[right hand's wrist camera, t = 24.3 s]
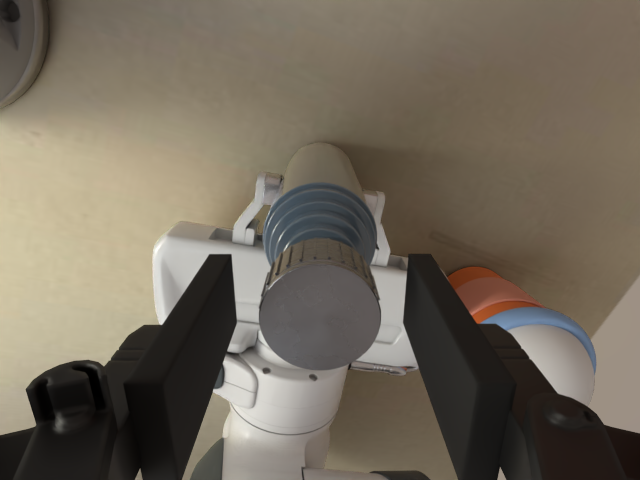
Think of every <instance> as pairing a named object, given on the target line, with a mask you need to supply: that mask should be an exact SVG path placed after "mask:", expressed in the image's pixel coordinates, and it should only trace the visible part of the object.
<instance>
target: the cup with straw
mask: <svg viewBox="0 0 640 480" xmlns="http://www.w3.org/2000/svg"><path fill="white" fill-rule="evenodd" d="M447 278H448V280H449V282H450V284H451V285H452V287H453V288H454V290H455V291H456V293H457V294H458V296H459V297H460V299H461V300H462V302H463V303H464V305H465V306H466V308H467V309H468V311H469V312H470V314H471V315H472V317H473V318H474V320H475V321H476V323H477V324H497V325H499V326H500V327H502V328H503V329H505V330H506V331H508V332H509V333H511V334H512V335H513V337H514V338H515V339H516V340H517V342H518V343H519V344H520V346H521V349H524V351H525V352H526V353H527V354H528V356H529V359H531V360H532V361H533V362H534V363H535V365H536V366H537V367H538V369H539V370H540V371H541V372H542V374H543V375H544V376H545V378H546V379H547V380H548V381H549V383H550V384H551V385H552V387H553V388H554V389H555V390H556V392H557V393H558V394H561V395H564V396H567V397H571V398H573V399H575V400H577V401H579V402H581V403H583V404H585V405H586V406H587V407H588V405H589V403H590V401H591V398H592V395H593V391H594V382H595V380H594V376H595V371H596V355H595V351H594V348H593V345H592V342H591V340H590V339H589V337H588V335H587V334H586V333H585V331H584V330H583V329H582V328H581V327H580V326H579V325H578V324H577V323H576V322H575V321H573V320H572V319H571V318H569V317H567V316H566V315H564V314H562V313H559V312H557V311H554V310H551V309H547V308H545V307H544V306H543V305H541V304H540V303H539V302H537V301H536V300H535V299H533V298H532V297H531V296H529V295H528V294H527V293H525V292H524V291H523V290H521V289H520V288H519V287H517V286H516V285H515V284H513V283H511V282H510V281H507V280H505V279H503V278H502V277H500V276H499V275H498V274H496V273H495V272H493V271H491V270H489V269H487V268H483V267H467V268H463V269H460V270H458V271H456V272H454V273H452V274H451V275H449V276H448V277H447Z"/></svg>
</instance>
